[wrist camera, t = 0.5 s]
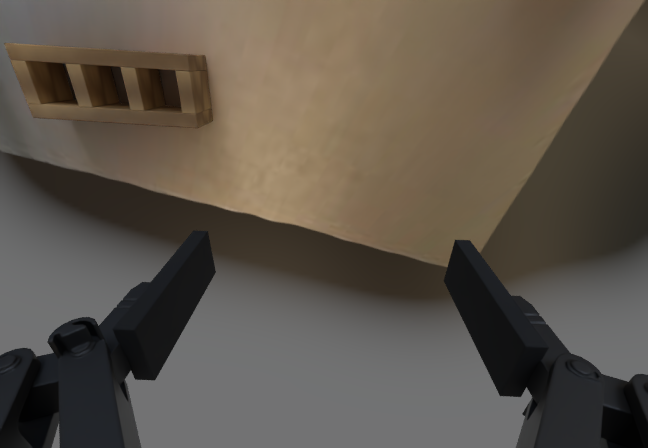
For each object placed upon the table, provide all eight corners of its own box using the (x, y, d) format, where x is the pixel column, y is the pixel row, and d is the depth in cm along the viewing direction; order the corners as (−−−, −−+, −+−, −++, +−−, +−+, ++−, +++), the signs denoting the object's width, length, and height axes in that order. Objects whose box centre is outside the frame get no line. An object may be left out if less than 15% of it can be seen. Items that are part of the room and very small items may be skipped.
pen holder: (43, 45, 36) (3, 42, 32) (205, 55, 36) (187, 54, 32) (66, 111, 40) (32, 117, 35) (213, 121, 40) (197, 128, 35)
